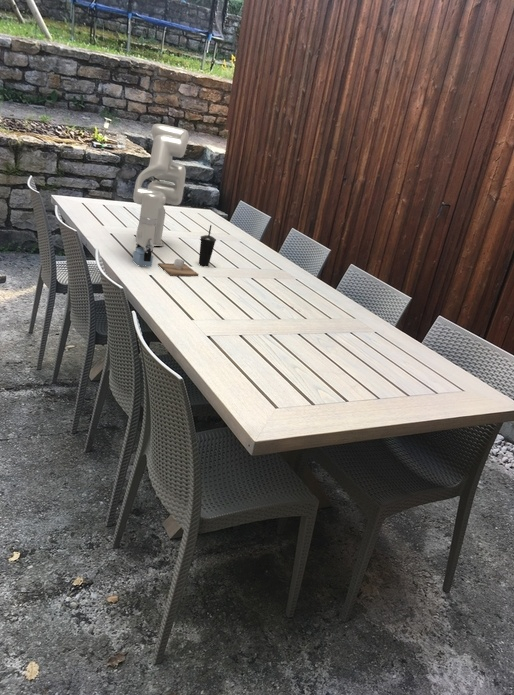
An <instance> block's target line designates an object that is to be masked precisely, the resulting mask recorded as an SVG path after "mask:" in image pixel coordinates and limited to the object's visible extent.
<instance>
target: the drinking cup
mask: <svg viewBox="0 0 514 695" xmlns="http://www.w3.org/2000/svg"><path fill="white" fill-rule="evenodd" d="M208 230H209V231H208V235H207V234H204V235H201V236H200V246H199V259H198V265H199V264H200V265H199V266H201V265H202V266H201V267H204V266H208V267H209V265H210V263H211V258H212V254H213V251H214V248H215V244H216V242H217V239H216V238H215V237H214V236H212V235H211V230H212V225H211V224H210V226H209V229H208Z"/></svg>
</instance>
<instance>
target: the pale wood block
mask: <svg viewBox="0 0 514 695" xmlns="http://www.w3.org/2000/svg"><path fill="white" fill-rule="evenodd" d="M173 264H174V269H177V270H182V269H183V265H184V264H185V260H183V259H180V258H176V259H175V260H174V263H173Z"/></svg>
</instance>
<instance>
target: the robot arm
mask: <svg viewBox="0 0 514 695" xmlns="http://www.w3.org/2000/svg"><path fill="white" fill-rule="evenodd" d="M151 136H152V139H153V142H152V148H151V154H150V160H149V164H148V166H147V167H146V168H144V169H143V170H142V171H141V172H140V173H139V174H138V176H137V178H136V180H135V183H134V184H135V186H134V189H133V195H132V196H133V197H132V199H133V202H134V203H135V204H137V205H140V206H141V207H140V213H139V220H138V225H137V230H136V235H135V241H134V242H135V245H136V246H135V249H136V248H138V247H144V248H145V251H146V252H145V254H144V261H149V262H150V261H151V255H152V256H153V251H154V248H155V247H154V246H162V247H164V246H163V245H165V243H164V241H162V239H163V238H162V237H163V232H164V226H165V219H166V218H165V217H166V209H165V207H164V206H165V204H169V205H172V206H179V205H181V203H182V200H183V195H184V188H185V181H186V175H187V174H186V172H187V171H186V170H187V169H186V166H185V165H184V164H182V163H179V162H173V157H174V158H181V159H182V158H183V157H184V155H185V153H186V150H187V148H188V143H189V139H190V138H189V137H190V136H189V131H188V130H186V129H184V128H181V127H176V126H172V125H169V124H163V123H155V124H153V125H152V127H151ZM152 177H154V178H155V179H157V180H161V181H151V182H149V183H148V185H147V188H145V187H142V185H143V183H144V181H146V180H147V179H149V178H152ZM162 181H164V182H162ZM167 182H169V183H167ZM171 183H173V184H171ZM147 248H148V250H147Z"/></svg>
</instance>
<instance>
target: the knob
mask: <svg viewBox="0 0 514 695" xmlns="http://www.w3.org/2000/svg"><path fill="white" fill-rule="evenodd" d="M148 249H149V248H147V250H148ZM145 252H146V251H145V247H138V248H136V247H135V250H133V254H132V262H133V261H134V262H135V263H136V264H137V265H140V266H139V267H152V266H153V259H154V258H153V257H154V255H153V254H152V255H151V261H150V262H149V261H144V254H145ZM134 262H133V263H134ZM135 263H134V264H135ZM136 264H135V265H136ZM137 265H136V266H137ZM142 265H144V266H142ZM145 265H146V266H145Z"/></svg>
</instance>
